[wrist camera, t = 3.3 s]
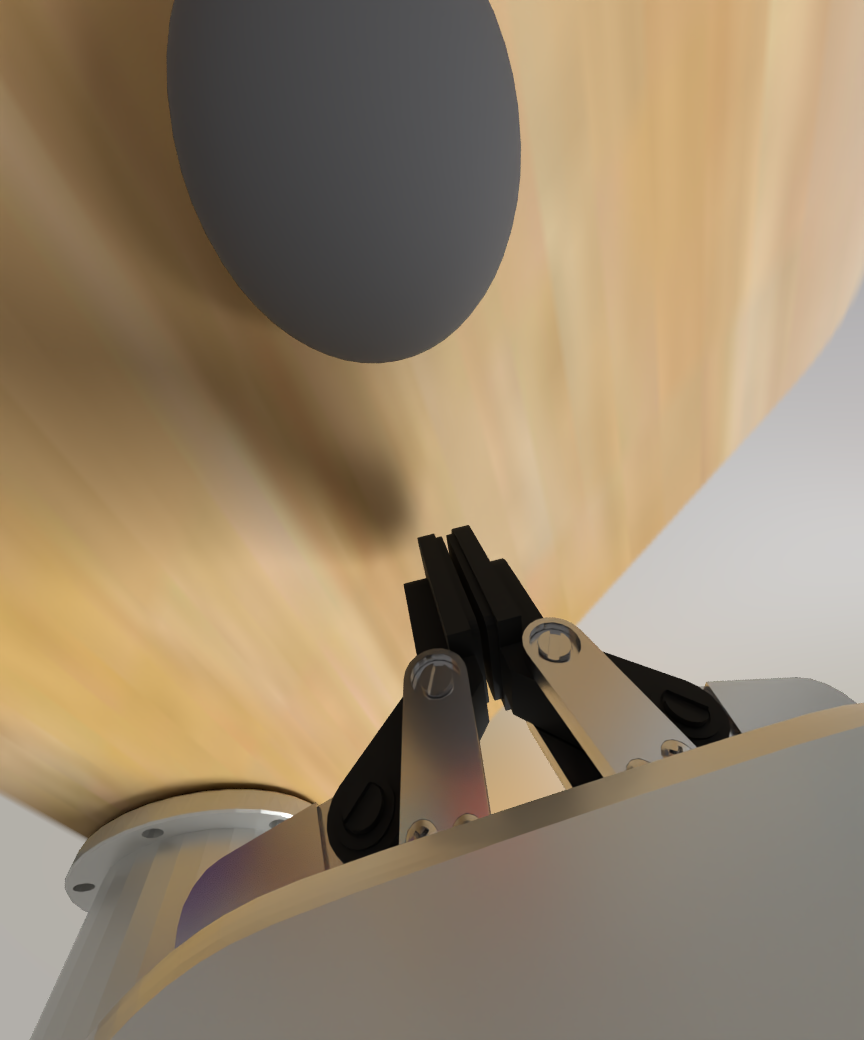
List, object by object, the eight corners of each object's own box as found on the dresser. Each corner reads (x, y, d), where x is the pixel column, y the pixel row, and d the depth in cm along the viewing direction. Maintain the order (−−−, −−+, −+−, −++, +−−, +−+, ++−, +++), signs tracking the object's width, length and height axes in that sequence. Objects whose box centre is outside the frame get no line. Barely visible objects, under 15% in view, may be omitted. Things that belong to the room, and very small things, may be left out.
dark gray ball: (475, 337, 10) (586, 336, 5) (289, 375, 10) (226, 410, 5) (449, 53, 7) (628, -469, 3) (186, 83, 7) (-196, -513, 2)
